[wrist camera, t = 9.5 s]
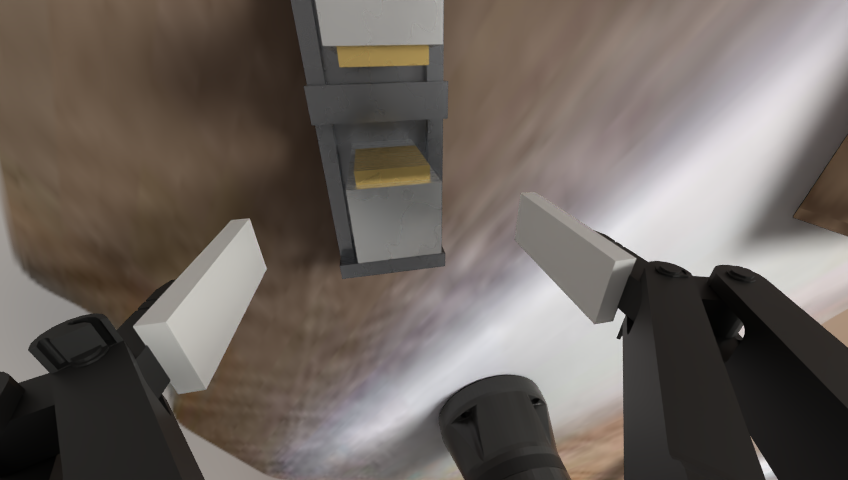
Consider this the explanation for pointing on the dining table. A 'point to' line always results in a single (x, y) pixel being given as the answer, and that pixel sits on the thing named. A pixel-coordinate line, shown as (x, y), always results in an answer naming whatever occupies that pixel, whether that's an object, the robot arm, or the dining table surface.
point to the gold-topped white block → (393, 201)
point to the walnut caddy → (829, 196)
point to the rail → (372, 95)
